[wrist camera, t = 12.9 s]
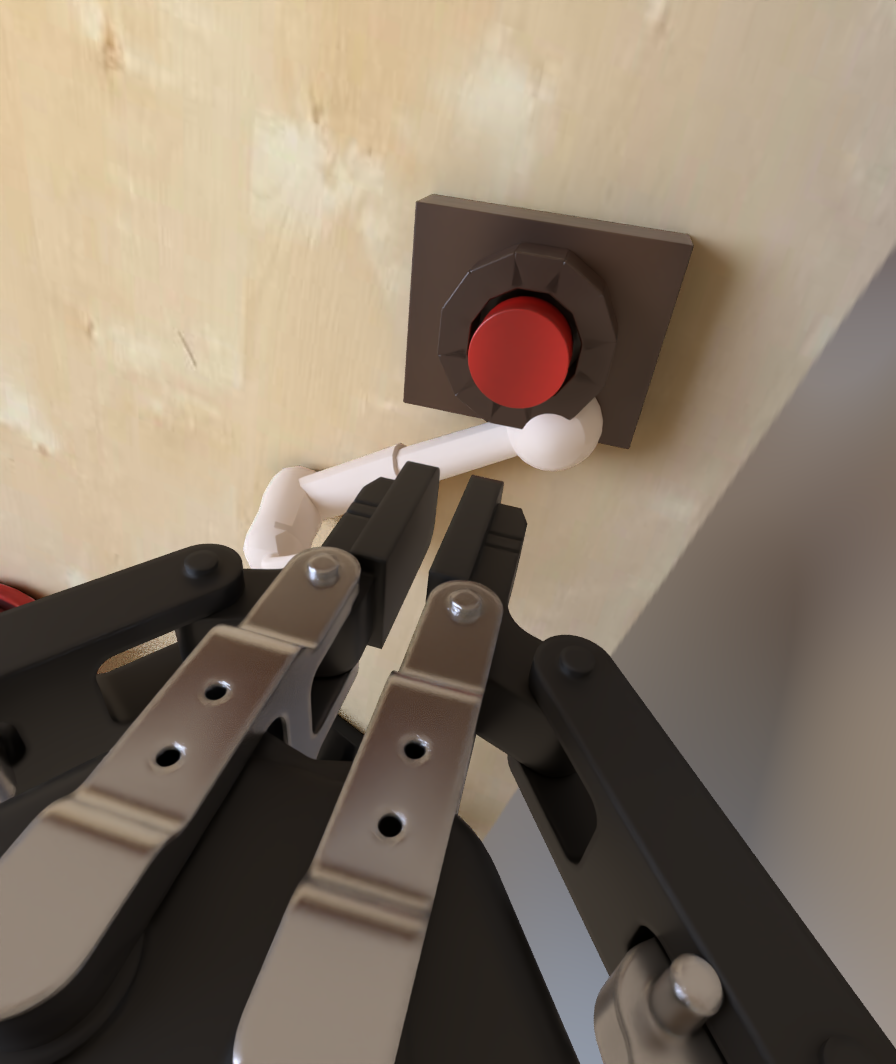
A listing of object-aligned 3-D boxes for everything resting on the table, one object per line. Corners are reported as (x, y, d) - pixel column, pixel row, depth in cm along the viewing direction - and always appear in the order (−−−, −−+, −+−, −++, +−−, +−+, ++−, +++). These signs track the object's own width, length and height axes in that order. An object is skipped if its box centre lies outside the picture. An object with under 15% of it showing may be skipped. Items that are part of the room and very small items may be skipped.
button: (583, 305, 22) (579, 319, 20) (561, 399, 24) (557, 417, 22) (484, 287, 22) (474, 300, 21) (472, 381, 24) (462, 398, 23)
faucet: (586, 401, 32) (652, 471, 23) (292, 535, 34) (251, 643, 26) (560, 328, 30) (621, 373, 21) (253, 475, 33) (194, 569, 24)
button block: (689, 234, 23) (698, 255, 19) (629, 427, 27) (628, 470, 24) (431, 193, 24) (400, 207, 21) (417, 384, 29) (389, 419, 26)
